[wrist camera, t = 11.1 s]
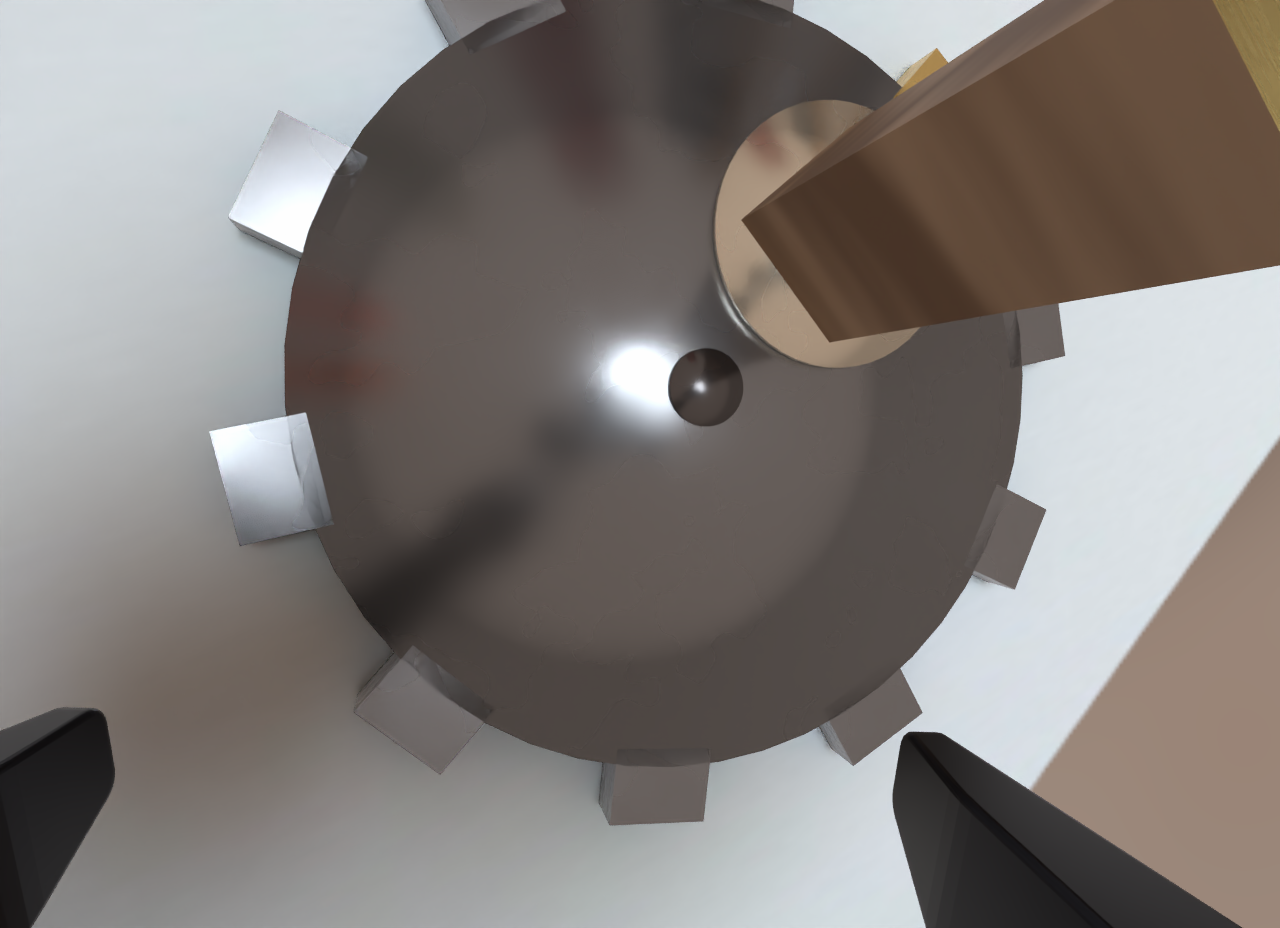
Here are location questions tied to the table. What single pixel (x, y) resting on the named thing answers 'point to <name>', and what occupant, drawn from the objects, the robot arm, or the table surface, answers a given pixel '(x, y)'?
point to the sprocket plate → (619, 401)
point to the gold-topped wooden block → (1045, 170)
